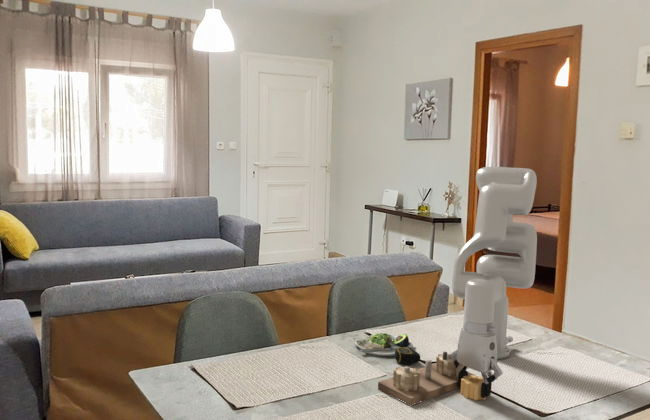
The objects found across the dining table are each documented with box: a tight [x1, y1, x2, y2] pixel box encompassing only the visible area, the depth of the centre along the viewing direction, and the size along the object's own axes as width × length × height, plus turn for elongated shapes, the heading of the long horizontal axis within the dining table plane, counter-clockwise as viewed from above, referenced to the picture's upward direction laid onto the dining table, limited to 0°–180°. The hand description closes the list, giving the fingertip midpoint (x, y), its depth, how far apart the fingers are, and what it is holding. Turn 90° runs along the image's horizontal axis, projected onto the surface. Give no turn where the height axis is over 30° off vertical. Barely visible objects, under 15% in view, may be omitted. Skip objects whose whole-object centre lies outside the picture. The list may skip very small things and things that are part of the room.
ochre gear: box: [460, 374, 487, 401], centre depth 155 cm, size 7×7×4 cm
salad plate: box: [354, 332, 417, 357], centre depth 187 cm, size 19×18×5 cm
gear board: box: [377, 351, 475, 406], centre depth 159 cm, size 26×12×8 cm, turn 128°
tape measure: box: [394, 347, 421, 365], centre depth 176 cm, size 7×7×4 cm
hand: (473, 390), depth 155 cm, fingers closed on ochre gear, 6 cm apart
